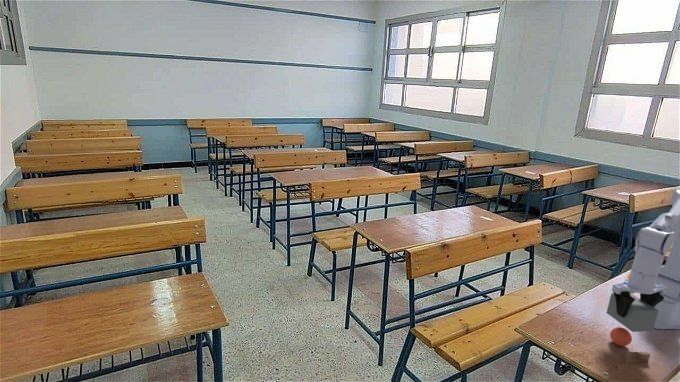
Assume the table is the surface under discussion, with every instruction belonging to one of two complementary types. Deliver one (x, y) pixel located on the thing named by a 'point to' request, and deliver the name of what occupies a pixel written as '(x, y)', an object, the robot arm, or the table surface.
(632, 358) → the brown block
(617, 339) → the ball
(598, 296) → the table surface
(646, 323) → the gray block
